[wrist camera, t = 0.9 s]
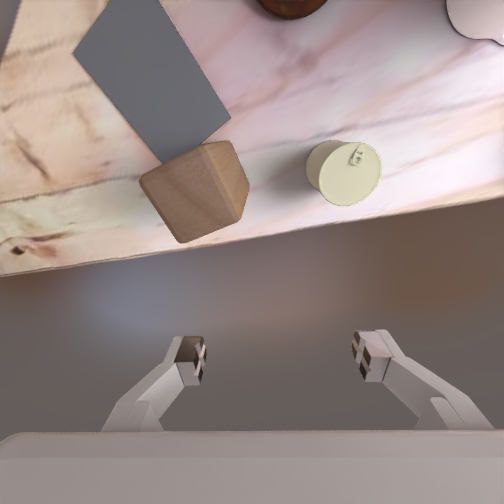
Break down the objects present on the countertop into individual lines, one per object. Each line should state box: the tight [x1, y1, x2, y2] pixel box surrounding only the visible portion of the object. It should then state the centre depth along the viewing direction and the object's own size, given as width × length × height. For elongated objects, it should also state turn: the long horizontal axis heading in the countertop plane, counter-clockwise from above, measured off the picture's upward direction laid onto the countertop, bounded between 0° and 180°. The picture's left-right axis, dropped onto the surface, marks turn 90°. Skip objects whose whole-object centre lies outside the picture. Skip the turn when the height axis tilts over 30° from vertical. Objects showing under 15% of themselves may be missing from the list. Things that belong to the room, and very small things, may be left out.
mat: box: [73, 0, 231, 164], centre depth 37 cm, size 16×22×1 cm
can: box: [305, 140, 382, 206], centre depth 37 cm, size 9×9×12 cm
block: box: [139, 141, 249, 243], centre depth 35 cm, size 10×10×20 cm
